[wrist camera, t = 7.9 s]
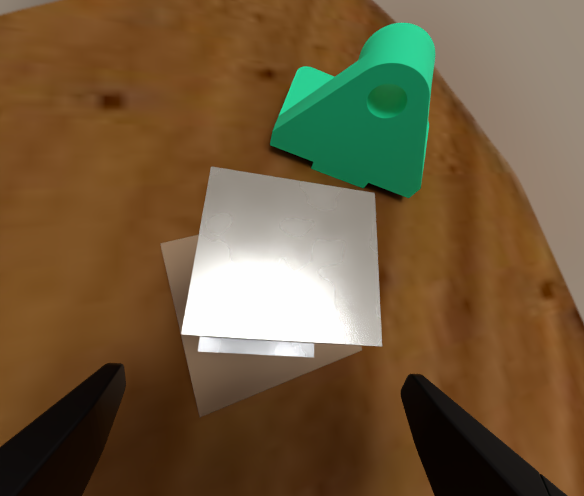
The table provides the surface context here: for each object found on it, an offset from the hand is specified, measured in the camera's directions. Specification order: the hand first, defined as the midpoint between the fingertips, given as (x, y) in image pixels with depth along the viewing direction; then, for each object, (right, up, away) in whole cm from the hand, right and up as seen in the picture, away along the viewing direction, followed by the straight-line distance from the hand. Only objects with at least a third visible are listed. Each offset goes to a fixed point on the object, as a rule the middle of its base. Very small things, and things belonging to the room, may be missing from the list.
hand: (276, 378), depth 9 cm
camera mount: (+5, +13, +16) cm, 21 cm away
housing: (-1, +1, +8) cm, 9 cm away
